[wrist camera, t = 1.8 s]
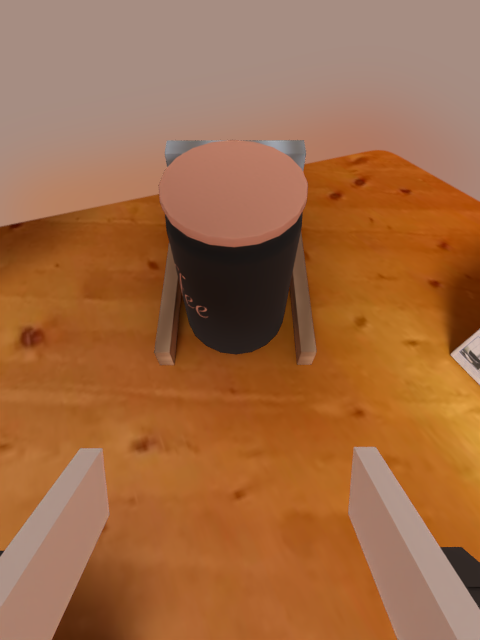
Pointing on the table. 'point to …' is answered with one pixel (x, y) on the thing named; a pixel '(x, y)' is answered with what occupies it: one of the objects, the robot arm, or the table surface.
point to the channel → (298, 284)
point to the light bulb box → (469, 356)
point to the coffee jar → (234, 238)
